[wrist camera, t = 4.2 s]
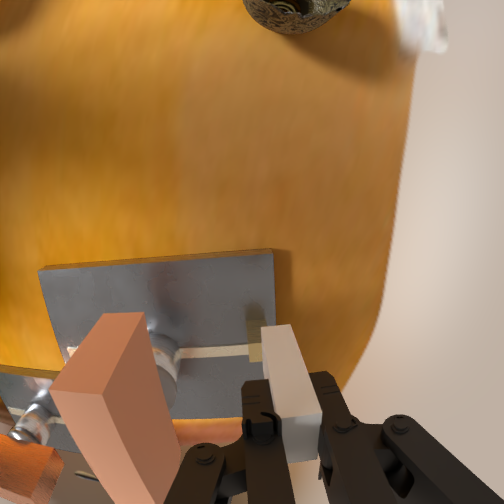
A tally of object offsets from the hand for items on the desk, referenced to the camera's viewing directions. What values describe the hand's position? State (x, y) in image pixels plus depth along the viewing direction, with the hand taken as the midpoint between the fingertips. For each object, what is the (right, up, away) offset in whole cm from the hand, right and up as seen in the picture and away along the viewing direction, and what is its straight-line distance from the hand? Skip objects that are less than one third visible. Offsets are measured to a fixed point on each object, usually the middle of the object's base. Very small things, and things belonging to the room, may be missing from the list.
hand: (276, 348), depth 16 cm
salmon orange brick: (-9, -5, +5) cm, 11 cm away
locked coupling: (-26, -14, +13) cm, 32 cm away
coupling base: (-9, -3, +11) cm, 15 cm away
